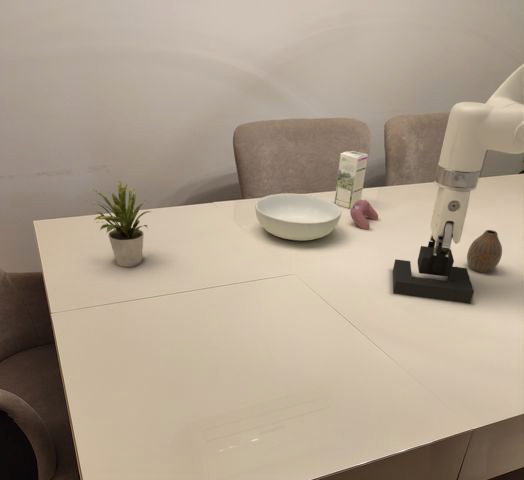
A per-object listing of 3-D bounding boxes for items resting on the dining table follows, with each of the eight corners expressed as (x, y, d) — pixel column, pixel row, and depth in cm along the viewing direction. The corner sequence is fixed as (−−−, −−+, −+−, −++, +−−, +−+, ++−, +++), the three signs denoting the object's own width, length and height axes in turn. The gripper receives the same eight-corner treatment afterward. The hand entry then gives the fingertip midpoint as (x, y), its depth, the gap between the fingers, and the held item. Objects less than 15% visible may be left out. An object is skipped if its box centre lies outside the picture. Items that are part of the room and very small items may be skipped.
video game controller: (364, 223, 138) (356, 198, 135) (379, 218, 135) (372, 193, 133) (353, 234, 130) (345, 208, 128) (369, 229, 128) (361, 203, 125)
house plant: (88, 250, 110) (76, 174, 101) (151, 243, 115) (144, 171, 106) (96, 278, 100) (83, 196, 90) (164, 269, 104) (159, 190, 95)
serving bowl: (263, 252, 114) (265, 223, 110) (247, 220, 131) (248, 193, 127) (349, 248, 118) (354, 220, 114) (323, 218, 135) (326, 192, 131)
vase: (493, 265, 114) (505, 228, 109) (498, 278, 109) (511, 239, 104) (462, 261, 115) (472, 224, 110) (465, 273, 110) (476, 235, 105)
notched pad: (462, 280, 107) (466, 268, 105) (469, 305, 98) (474, 291, 96) (392, 271, 109) (395, 259, 107) (392, 294, 100) (395, 281, 98)
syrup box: (360, 205, 146) (369, 153, 137) (349, 210, 142) (357, 156, 134) (344, 200, 149) (351, 149, 140) (333, 205, 145) (340, 152, 137)
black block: (446, 264, 105) (450, 249, 103) (449, 277, 100) (454, 260, 98) (417, 261, 105) (421, 245, 103) (418, 273, 101) (422, 257, 99)
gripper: (485, 192, 85) (457, 288, 95) (471, 167, 99) (448, 253, 109) (439, 188, 86) (417, 283, 96) (432, 164, 100) (413, 249, 110)
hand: (434, 266), depth 102 cm, fingers closed on black block, 5 cm apart
